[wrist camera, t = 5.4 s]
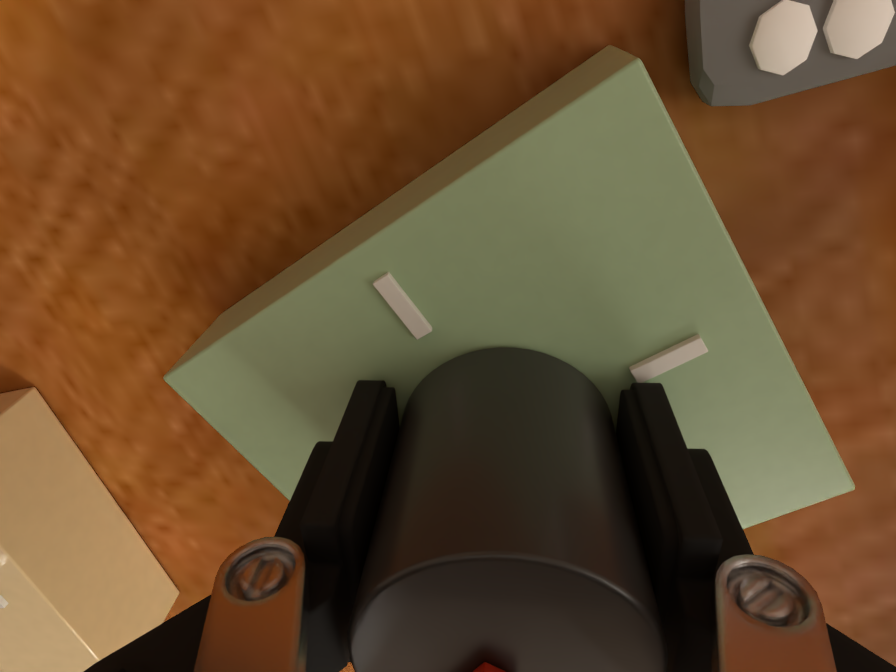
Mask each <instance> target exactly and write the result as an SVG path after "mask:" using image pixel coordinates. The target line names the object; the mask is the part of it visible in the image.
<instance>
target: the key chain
mask: <svg viewBox="0 0 896 672" xmlns="http://www.w3.org/2000/svg"><path fill="white" fill-rule="evenodd" d="M685 21H686V34H687V47H688V60H689V71H690V82H691V84H692V86H693V87H694V89H695V90H696V92H697V94H698V95H699V97H700V98H701V100H702V102H704V103H706V104H708V105H710V106H741V105H753V104H757V103H761V102H764V101H768V100H771V99H775V98H779V97H782V96H786V95H790V94H793V93H797V92H801V91H804V90H808V89H812V88H815V87H819V86H823V85H826V84H830V83H834V82H837V81H841V80H845V79H848V78H852V77H856V76H859V75H863V74H867V73H870V72H874V71H877V70H881V69H884V68H888V67H891V66H895V65H896V0H685Z"/></svg>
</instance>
